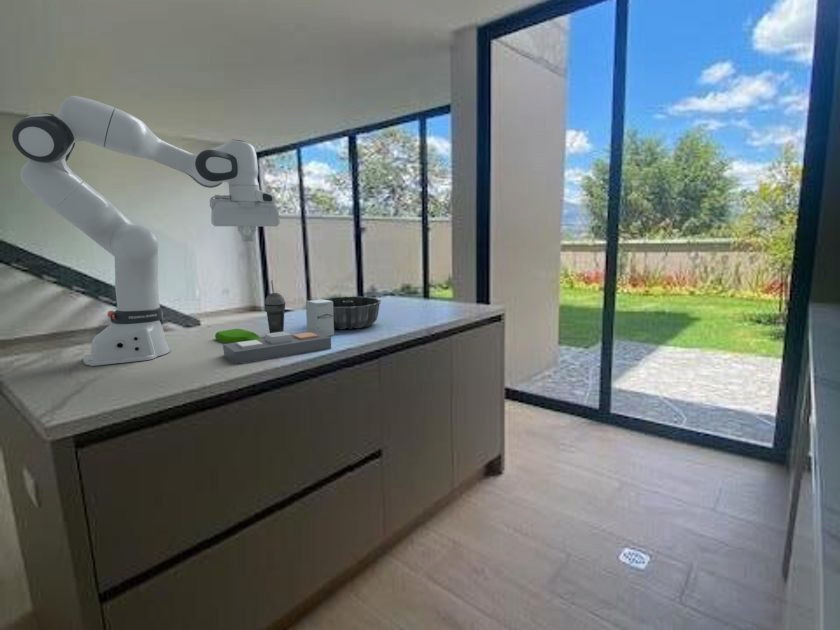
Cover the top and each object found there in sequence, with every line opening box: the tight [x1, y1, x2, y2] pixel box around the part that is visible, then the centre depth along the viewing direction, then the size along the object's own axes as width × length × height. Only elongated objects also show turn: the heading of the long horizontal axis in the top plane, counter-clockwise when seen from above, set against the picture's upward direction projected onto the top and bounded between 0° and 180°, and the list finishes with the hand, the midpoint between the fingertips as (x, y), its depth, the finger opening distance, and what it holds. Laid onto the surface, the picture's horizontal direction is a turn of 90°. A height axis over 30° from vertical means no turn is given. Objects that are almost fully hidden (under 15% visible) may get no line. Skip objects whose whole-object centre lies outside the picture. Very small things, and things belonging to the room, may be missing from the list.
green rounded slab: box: [214, 328, 262, 344], centre depth 161 cm, size 3×11×24 cm
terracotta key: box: [292, 332, 318, 340], centre depth 153 cm, size 6×6×3 cm
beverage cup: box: [264, 280, 286, 333], centre depth 169 cm, size 7×7×20 cm
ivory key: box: [236, 340, 263, 349], centre depth 142 cm, size 6×6×3 cm
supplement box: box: [305, 298, 335, 337], centre depth 171 cm, size 7×7×13 cm
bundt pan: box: [321, 296, 382, 330], centre depth 189 cm, size 26×26×10 cm
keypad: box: [222, 331, 332, 365], centre depth 148 cm, size 30×12×4 cm, turn 128°
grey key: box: [264, 331, 292, 344], centre depth 148 cm, size 6×6×3 cm
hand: (247, 241), depth 148 cm, fingers closed
